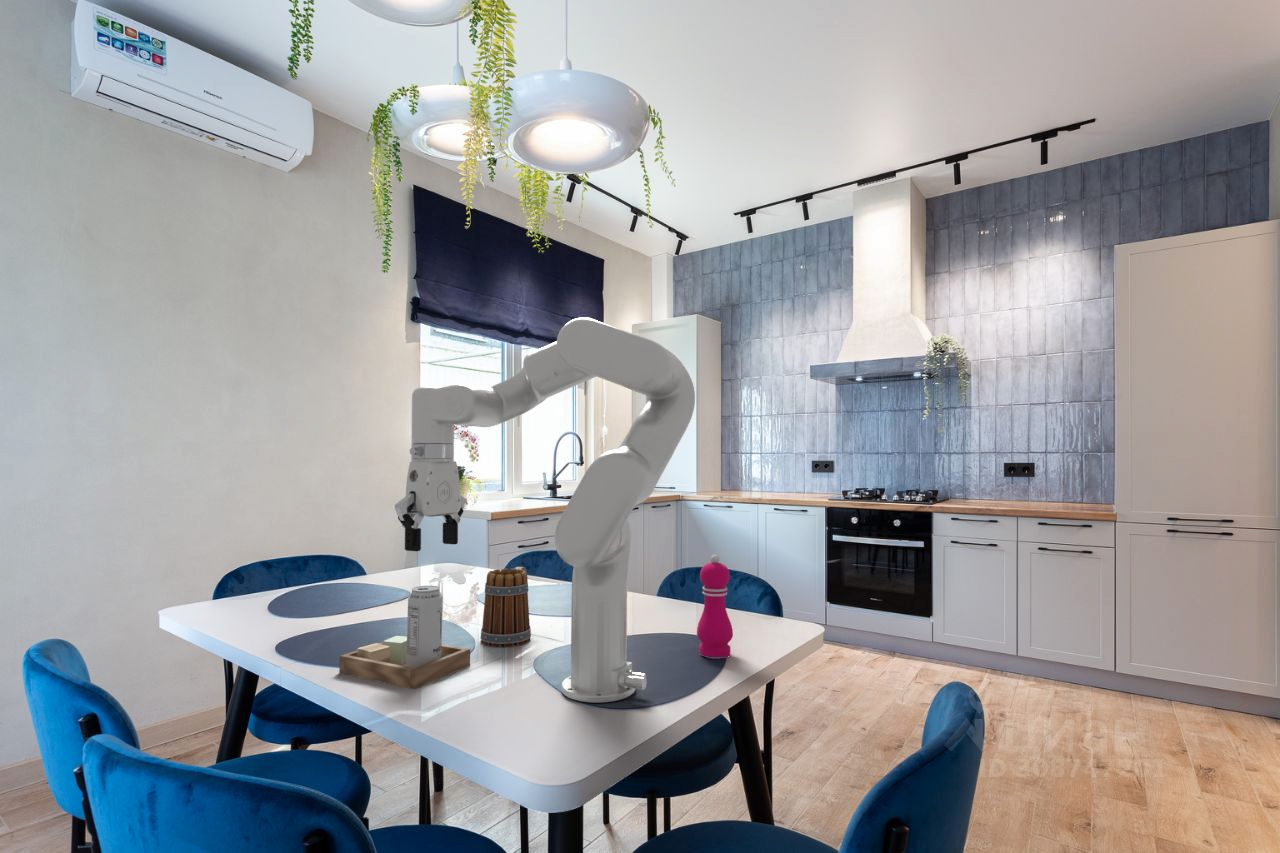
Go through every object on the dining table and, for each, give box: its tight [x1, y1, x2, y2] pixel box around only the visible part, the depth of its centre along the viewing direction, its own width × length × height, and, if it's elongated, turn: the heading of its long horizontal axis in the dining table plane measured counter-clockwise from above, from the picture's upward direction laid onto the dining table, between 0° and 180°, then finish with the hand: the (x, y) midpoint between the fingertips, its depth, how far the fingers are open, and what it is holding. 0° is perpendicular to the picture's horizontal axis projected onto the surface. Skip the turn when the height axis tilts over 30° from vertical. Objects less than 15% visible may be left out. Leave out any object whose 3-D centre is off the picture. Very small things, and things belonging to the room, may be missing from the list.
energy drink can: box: [406, 585, 444, 668], centre depth 120 cm, size 6×6×15 cm
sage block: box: [382, 635, 407, 665], centre depth 126 cm, size 4×4×4 cm
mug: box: [480, 566, 532, 648], centre depth 143 cm, size 16×11×15 cm
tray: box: [338, 641, 471, 690], centre depth 121 cm, size 18×14×4 cm
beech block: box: [356, 642, 390, 663], centre depth 121 cm, size 4×4×4 cm
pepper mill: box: [696, 554, 734, 658], centre depth 134 cm, size 7×7×20 cm
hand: (432, 547), depth 122 cm, fingers open, 9 cm apart
